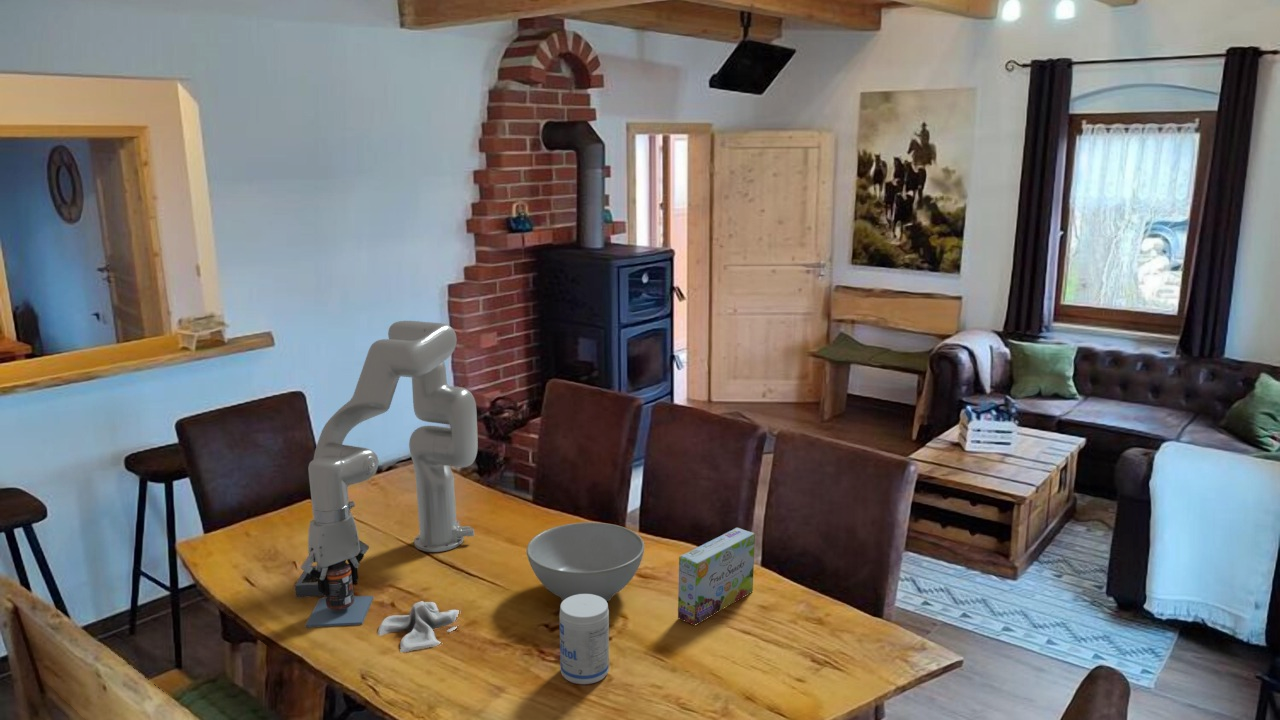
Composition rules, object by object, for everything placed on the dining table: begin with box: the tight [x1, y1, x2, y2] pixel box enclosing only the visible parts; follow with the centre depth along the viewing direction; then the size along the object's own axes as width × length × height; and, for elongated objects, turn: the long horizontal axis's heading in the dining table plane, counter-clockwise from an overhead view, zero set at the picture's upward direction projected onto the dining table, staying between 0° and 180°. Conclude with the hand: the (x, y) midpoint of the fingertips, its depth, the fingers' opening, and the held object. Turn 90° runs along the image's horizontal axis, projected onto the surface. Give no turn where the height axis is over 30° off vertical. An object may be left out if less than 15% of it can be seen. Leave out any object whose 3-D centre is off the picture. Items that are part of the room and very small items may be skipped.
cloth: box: [377, 600, 459, 653], centre depth 197 cm, size 22×19×6 cm
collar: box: [294, 565, 326, 599], centre depth 214 cm, size 10×10×3 cm
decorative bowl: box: [526, 521, 645, 602], centre depth 208 cm, size 27×27×12 cm
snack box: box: [677, 527, 756, 625], centre depth 202 cm, size 21×6×15 cm, turn 137°
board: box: [304, 595, 374, 628], centre depth 203 cm, size 12×12×1 cm
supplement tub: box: [558, 594, 610, 685], centre depth 177 cm, size 10×10×15 cm
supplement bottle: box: [325, 560, 355, 610], centre depth 201 cm, size 6×6×11 cm
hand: (338, 587), depth 202 cm, fingers closed on supplement bottle, 5 cm apart
